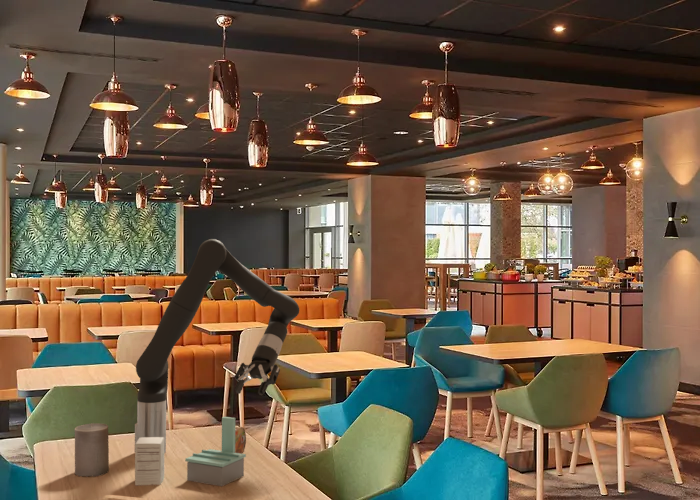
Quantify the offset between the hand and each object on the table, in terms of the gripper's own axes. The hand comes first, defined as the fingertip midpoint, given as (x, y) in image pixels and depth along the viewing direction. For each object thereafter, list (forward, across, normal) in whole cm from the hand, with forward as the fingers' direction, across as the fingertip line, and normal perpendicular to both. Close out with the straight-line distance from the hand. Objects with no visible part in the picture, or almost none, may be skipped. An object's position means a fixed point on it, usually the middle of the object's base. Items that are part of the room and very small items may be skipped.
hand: (248, 393), depth 238 cm
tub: (+28, 0, +3) cm, 28 cm away
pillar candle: (+35, -38, -6) cm, 52 cm away
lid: (+23, 0, -1) cm, 23 cm away
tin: (+11, -12, +22) cm, 27 cm away
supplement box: (+36, -15, -6) cm, 39 cm away
